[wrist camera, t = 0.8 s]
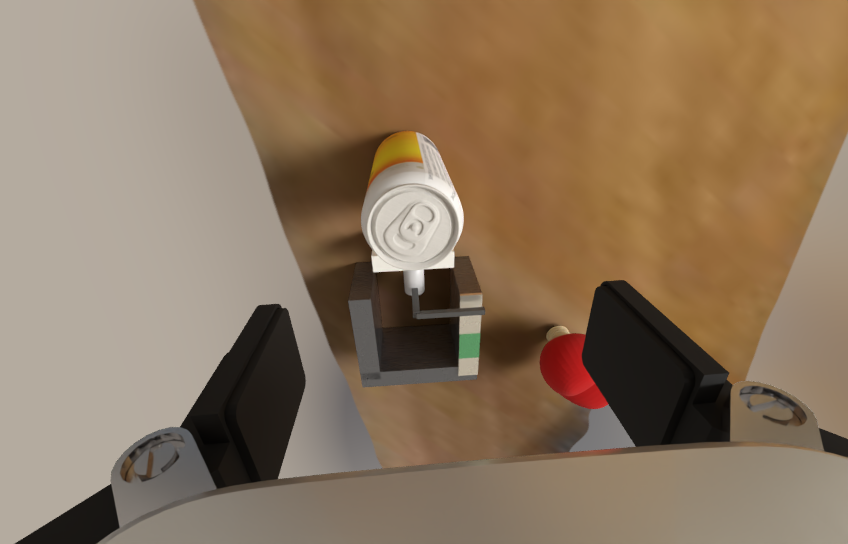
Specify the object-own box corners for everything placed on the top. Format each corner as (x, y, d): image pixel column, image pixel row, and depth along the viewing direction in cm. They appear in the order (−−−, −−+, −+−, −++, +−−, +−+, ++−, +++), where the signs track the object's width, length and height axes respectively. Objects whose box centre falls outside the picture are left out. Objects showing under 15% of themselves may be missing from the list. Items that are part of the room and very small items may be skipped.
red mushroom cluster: (508, 328, 44) (535, 393, 36) (553, 291, 42) (594, 351, 33) (555, 363, 48) (589, 430, 39) (599, 331, 45) (646, 394, 37)
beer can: (362, 173, 34) (339, 245, 21) (397, 114, 31) (396, 154, 18) (416, 207, 36) (426, 292, 23) (453, 154, 33) (488, 215, 20)
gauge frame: (356, 262, 38) (347, 303, 32) (468, 256, 39) (482, 295, 32) (367, 342, 44) (362, 390, 38) (465, 335, 44) (477, 382, 38)
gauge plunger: (374, 232, 36) (369, 271, 29) (471, 227, 36) (488, 264, 29) (379, 279, 38) (375, 324, 32) (469, 273, 39) (484, 317, 32)
